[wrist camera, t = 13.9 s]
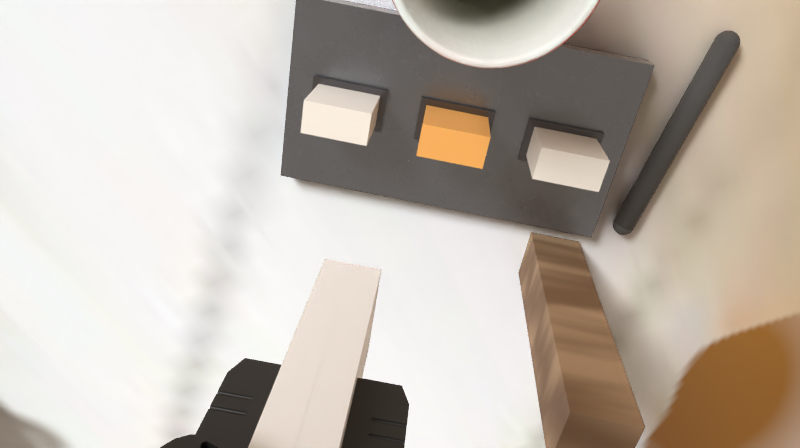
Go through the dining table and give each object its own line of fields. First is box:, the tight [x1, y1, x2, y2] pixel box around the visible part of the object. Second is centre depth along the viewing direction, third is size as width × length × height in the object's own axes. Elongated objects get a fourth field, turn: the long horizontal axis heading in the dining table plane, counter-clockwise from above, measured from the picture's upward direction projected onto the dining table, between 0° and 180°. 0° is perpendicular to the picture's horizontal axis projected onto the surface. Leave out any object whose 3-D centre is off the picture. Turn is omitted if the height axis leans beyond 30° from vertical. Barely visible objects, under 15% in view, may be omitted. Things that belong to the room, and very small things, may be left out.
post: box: [519, 232, 645, 448], centre depth 36 cm, size 4×4×18 cm
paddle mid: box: [416, 105, 491, 169], centre depth 37 cm, size 2×4×4 cm, turn 80°
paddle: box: [301, 84, 380, 146], centre depth 37 cm, size 2×4×4 cm, turn 80°
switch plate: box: [281, 0, 654, 237], centre depth 40 cm, size 12×22×2 cm, turn 80°
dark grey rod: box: [613, 31, 740, 235], centre depth 39 cm, size 14×1×1 cm, turn 162°
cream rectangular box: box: [526, 127, 610, 192], centre depth 37 cm, size 2×4×4 cm, turn 80°
